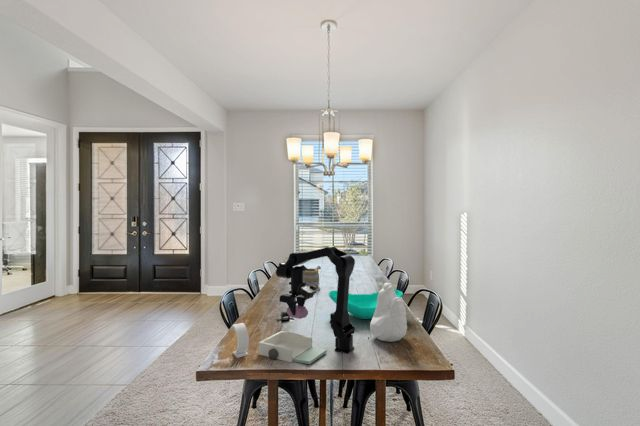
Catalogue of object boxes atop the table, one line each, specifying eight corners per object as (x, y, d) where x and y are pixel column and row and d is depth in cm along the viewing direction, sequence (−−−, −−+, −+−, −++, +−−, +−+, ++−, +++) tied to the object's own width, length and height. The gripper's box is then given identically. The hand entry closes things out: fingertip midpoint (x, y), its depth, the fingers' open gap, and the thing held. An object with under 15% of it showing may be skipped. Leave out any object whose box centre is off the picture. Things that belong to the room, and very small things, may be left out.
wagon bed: (313, 347, 168) (313, 336, 168) (288, 363, 152) (288, 350, 152) (283, 340, 176) (283, 329, 176) (256, 355, 160) (256, 343, 160)
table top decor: (330, 326, 195) (330, 300, 195) (326, 310, 223) (326, 287, 222) (409, 325, 198) (410, 298, 197) (395, 309, 225) (395, 286, 225)
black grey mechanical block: (294, 318, 211) (294, 309, 211) (298, 322, 205) (298, 313, 204) (272, 320, 207) (272, 311, 207) (275, 324, 200) (275, 315, 200)
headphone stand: (243, 351, 164) (243, 322, 164) (249, 356, 159) (248, 326, 159) (232, 353, 162) (232, 324, 161) (238, 358, 157) (237, 328, 156)
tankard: (312, 293, 262) (312, 270, 262) (297, 290, 269) (297, 268, 268) (328, 287, 279) (328, 266, 278) (313, 285, 286) (313, 264, 285)
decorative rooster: (368, 331, 188) (368, 280, 187) (401, 331, 188) (401, 279, 187) (376, 352, 163) (376, 293, 162) (414, 352, 163) (414, 292, 162)
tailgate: (311, 350, 166) (326, 352, 162) (293, 361, 154) (309, 364, 151) (310, 347, 166) (326, 349, 162) (293, 358, 154) (309, 361, 151)
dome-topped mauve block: (309, 317, 179) (309, 307, 179) (304, 319, 175) (304, 309, 175) (290, 313, 185) (290, 304, 184) (284, 315, 181) (284, 306, 180)
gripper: (298, 286, 167) (298, 322, 168) (323, 278, 182) (323, 311, 183) (278, 282, 173) (278, 317, 174) (304, 275, 189) (304, 308, 189)
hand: (297, 313), depth 180 cm, fingers closed on dome-topped mauve block, 4 cm apart
